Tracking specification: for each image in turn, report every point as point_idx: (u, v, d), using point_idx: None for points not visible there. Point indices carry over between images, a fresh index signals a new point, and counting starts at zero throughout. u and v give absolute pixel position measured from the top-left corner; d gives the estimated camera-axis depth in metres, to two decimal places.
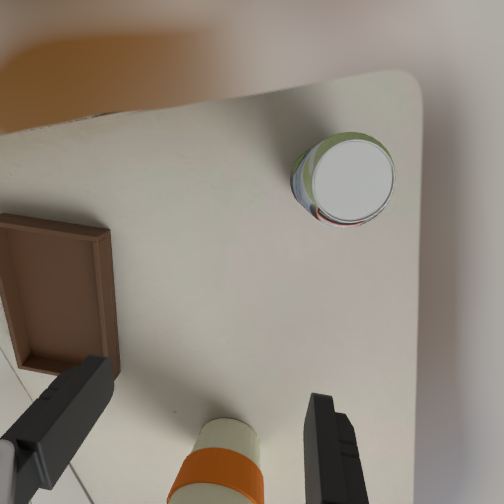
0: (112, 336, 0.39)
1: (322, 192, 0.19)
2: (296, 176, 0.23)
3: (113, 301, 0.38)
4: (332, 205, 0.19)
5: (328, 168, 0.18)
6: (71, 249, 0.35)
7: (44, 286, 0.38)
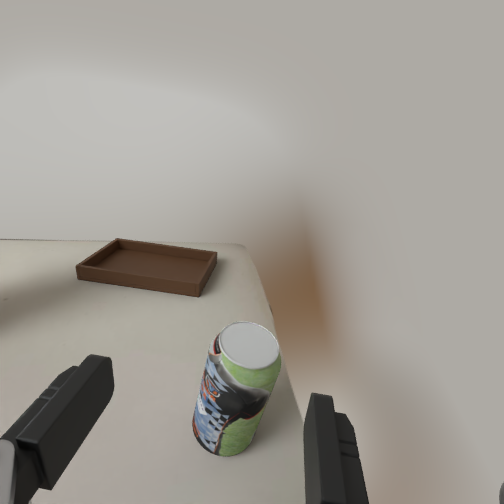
0: (117, 279, 0.51)
1: (242, 326, 0.26)
2: None
3: (144, 286, 0.51)
4: (233, 329, 0.25)
5: (258, 332, 0.26)
6: (190, 278, 0.55)
7: (167, 263, 0.59)
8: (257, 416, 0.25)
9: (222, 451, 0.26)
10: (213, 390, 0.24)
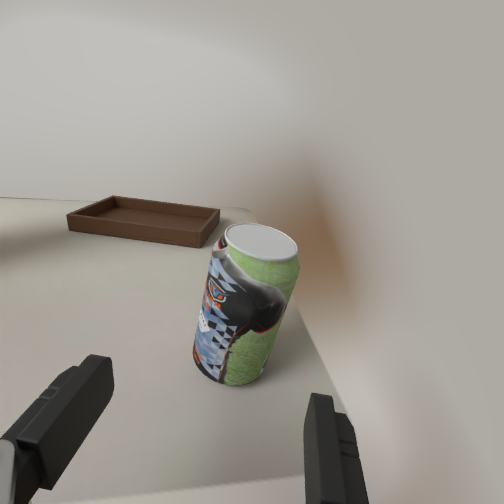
0: (111, 229, 0.47)
1: (252, 227, 0.22)
2: None
3: (141, 237, 0.47)
4: (241, 228, 0.21)
5: (272, 233, 0.21)
6: None
7: (166, 219, 0.55)
8: (270, 332, 0.21)
9: (228, 378, 0.22)
10: (218, 294, 0.19)
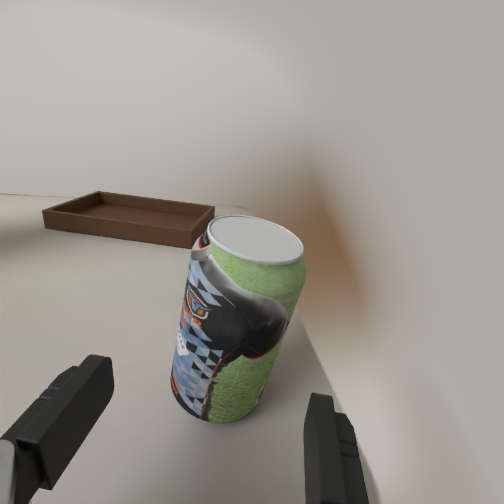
0: (91, 226, 0.42)
1: (245, 220, 0.17)
2: None
3: (125, 236, 0.42)
4: (230, 221, 0.16)
5: (270, 228, 0.17)
6: None
7: (156, 217, 0.50)
8: (268, 357, 0.16)
9: (213, 414, 0.17)
10: (198, 308, 0.15)
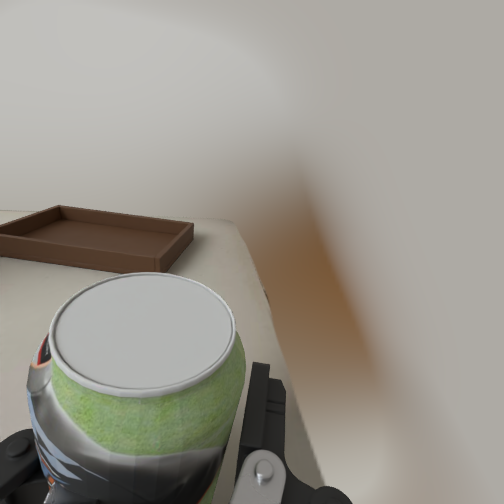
0: (39, 252, 0.34)
1: (140, 282, 0.10)
2: None
3: (80, 264, 0.35)
4: (109, 292, 0.09)
5: (183, 292, 0.10)
6: (151, 254, 0.38)
7: (124, 237, 0.43)
8: None
9: None
10: (47, 474, 0.08)
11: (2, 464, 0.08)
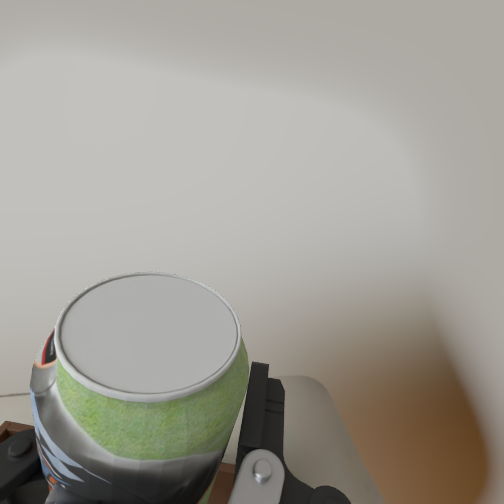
0: None
1: (145, 282, 0.10)
2: None
3: None
4: (114, 291, 0.09)
5: (187, 294, 0.10)
6: None
7: None
8: None
9: None
10: (48, 474, 0.08)
11: (4, 464, 0.08)
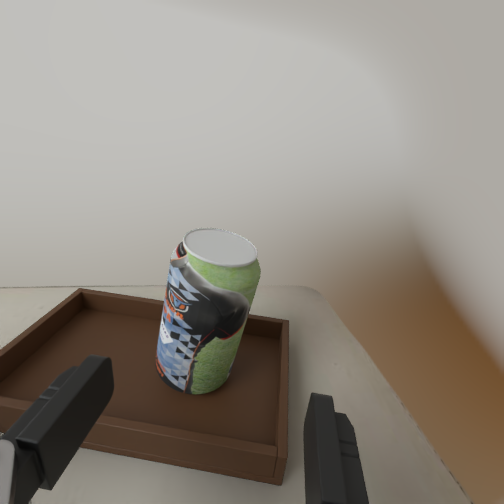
0: None
1: (211, 232, 0.21)
2: None
3: (131, 452, 0.19)
4: (199, 234, 0.20)
5: (231, 238, 0.21)
6: (244, 404, 0.22)
7: None
8: (235, 337, 0.21)
9: (195, 387, 0.21)
10: (179, 304, 0.19)
11: None
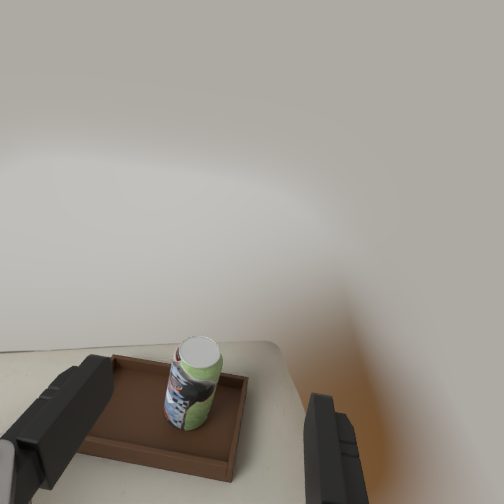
0: (111, 453, 0.35)
1: (195, 339, 0.38)
2: None
3: (151, 464, 0.35)
4: (188, 343, 0.37)
5: (206, 342, 0.38)
6: (215, 436, 0.39)
7: None
8: (209, 399, 0.37)
9: (186, 427, 0.38)
10: (177, 385, 0.35)
11: None
